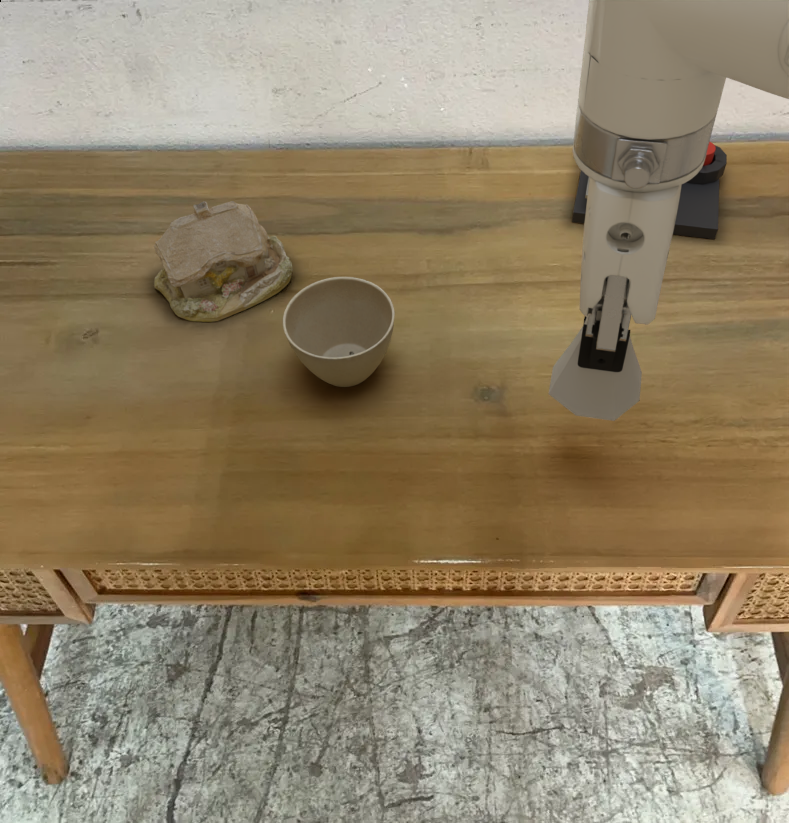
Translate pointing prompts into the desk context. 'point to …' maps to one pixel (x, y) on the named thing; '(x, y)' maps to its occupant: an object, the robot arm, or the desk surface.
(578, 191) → the scale
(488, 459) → the desk surface
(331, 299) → the bowl
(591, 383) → the flask
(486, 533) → the desk surface
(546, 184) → the desk surface
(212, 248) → the ceramic model
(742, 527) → the desk surface
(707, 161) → the tare button
